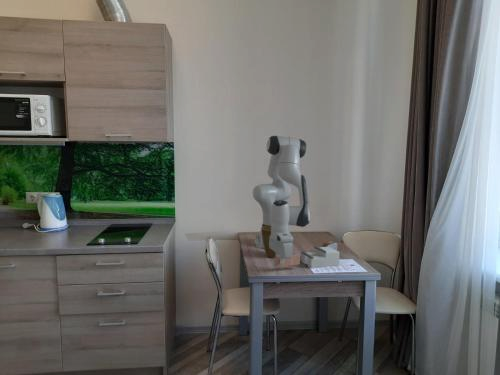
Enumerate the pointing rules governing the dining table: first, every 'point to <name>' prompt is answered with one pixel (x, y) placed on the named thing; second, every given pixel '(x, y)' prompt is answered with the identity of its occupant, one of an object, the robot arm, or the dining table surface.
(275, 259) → the brown block
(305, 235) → the dining table surface
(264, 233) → the plant pot
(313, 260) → the dispenser
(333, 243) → the tin
